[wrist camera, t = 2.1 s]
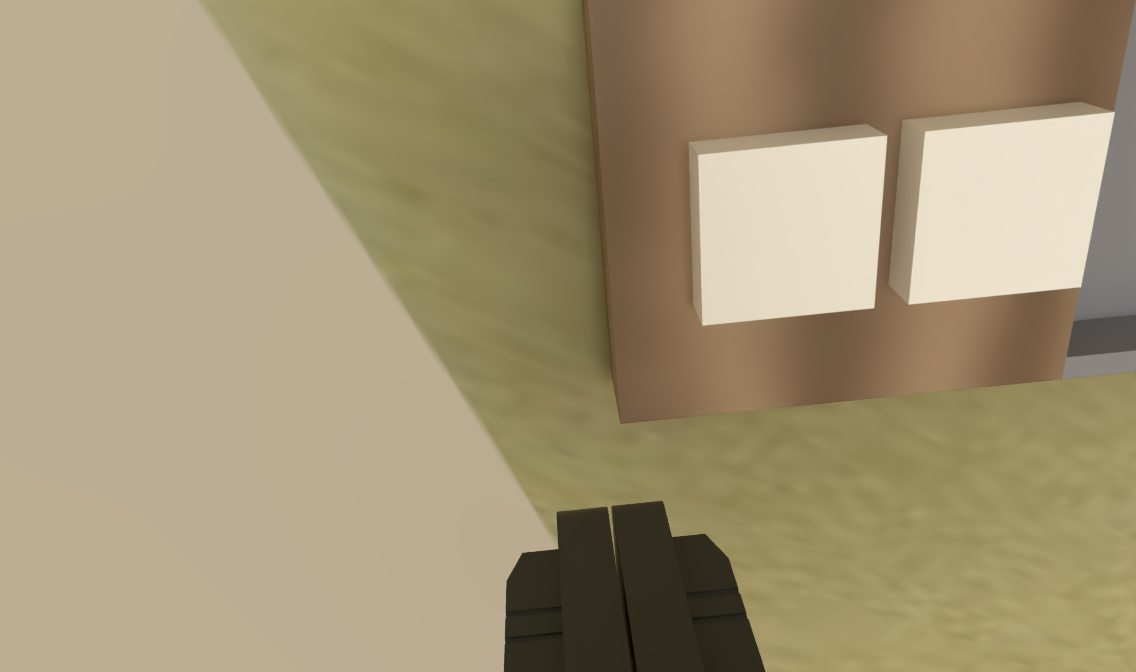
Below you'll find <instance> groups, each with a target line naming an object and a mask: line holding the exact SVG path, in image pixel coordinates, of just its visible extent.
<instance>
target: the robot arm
mask: <svg viewBox="0 0 1136 672" xmlns="http://www.w3.org/2000/svg"><path fill="white" fill-rule="evenodd" d="M612 522H613V534H614V545H615V556H614V549H613V542H612V535H611V528H610V521H609V514H608V508H607V507H599V508H590V509H580V510H570V511H560V512H557V530H558V548H559V549H556V550H547V551H537V552H527V553H522V555H521V556H520V558H519V560H518V562H517V564H516V565H515V567H514V569H513V571H512V572H511V574H510V576H509V578H508V580H507V586H506V587H507V588H506V620H505V655H504V672H765V669H764V666H763V663H762V659H761V656H760V653H759V650H758V647H757V644H756V641H755V638H754V635H753V632H752V629H751V626H750V623H749V620H748V619H747V616H746V610H745V607H744V604H743V601H742V598H741V595H740V594H739V591H738V586H737V583H736V580H735V577H734V574H733V571H732V567H731V564H730V561H729V558H728V557H727V556H726V555H725V554H724V553H723V552H722V551H721V550H720V549H719V548H718V547H717V546H716V545H715V544H714V543H713V542H712V541H711V540H710V539H709V537H708V536H707V535H706V534H699V535H689V536H680V537H672V535H671V531H670V527H669V523H668V519H667V515H666V511H665V507H664V504H663V501H655V502H646V503H636V504H626V505H617V506H612ZM615 557H616V563H615ZM616 569H617V570H616Z"/></svg>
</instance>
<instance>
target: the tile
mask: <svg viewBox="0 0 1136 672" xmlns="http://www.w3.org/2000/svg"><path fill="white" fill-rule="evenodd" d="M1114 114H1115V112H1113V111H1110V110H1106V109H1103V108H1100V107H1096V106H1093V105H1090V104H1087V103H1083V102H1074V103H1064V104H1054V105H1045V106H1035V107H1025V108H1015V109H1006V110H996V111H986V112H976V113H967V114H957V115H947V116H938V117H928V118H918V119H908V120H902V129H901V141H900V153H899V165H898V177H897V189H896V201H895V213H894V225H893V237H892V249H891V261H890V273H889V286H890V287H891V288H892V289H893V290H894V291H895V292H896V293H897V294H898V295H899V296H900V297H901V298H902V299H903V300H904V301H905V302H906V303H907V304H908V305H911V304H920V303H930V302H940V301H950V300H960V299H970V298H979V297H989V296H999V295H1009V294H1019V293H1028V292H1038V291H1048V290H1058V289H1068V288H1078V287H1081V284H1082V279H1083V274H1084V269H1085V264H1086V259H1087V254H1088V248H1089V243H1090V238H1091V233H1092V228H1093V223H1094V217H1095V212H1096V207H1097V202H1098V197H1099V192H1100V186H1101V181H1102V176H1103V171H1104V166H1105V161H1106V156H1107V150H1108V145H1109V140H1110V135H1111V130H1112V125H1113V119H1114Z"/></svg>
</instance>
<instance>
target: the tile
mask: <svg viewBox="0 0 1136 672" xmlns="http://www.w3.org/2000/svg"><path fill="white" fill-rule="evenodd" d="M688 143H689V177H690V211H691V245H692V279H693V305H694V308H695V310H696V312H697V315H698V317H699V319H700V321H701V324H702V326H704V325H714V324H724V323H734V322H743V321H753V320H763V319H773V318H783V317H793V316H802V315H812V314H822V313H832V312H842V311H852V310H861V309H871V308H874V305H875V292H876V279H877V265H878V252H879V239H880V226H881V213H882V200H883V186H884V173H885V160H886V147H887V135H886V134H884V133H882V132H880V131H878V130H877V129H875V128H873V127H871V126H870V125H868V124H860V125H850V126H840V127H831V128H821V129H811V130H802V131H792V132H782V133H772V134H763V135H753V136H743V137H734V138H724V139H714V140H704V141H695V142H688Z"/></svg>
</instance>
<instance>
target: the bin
mask: <svg viewBox="0 0 1136 672" xmlns="http://www.w3.org/2000/svg"><path fill="white" fill-rule="evenodd" d="M1114 112H1115V114H1114V119H1113V125H1112V130H1111V135H1110V140H1109V145H1108V150H1107V156H1106V161H1105V166H1104V171H1103V176H1102V181H1101V186H1100V192H1099V197H1098V202H1097V207H1096V212H1095V217H1094V223H1093V228H1092V233H1091V238H1090V243H1089V248H1088V254H1087V259H1086V264H1085V269H1084V274H1083V279H1082V284H1081V287H1080V290H1079V295H1078V300H1077V305H1076V310H1075V316H1074V321H1073V326H1072V331H1071V336H1070V341H1069V347H1068V352H1067V357H1066V362H1065V367H1064V372H1063V378H1062V379H1069V378H1078V377H1088V376H1098V375H1108V374H1118V373H1128V372H1136V0H1135V5H1134V11H1133V16H1132V21H1131V26H1130V31H1129V36H1128V42H1127V47H1126V52H1125V57H1124V62H1123V67H1122V73H1121V78H1120V83H1119V88H1118V93H1117V98H1116V104H1115V109H1114Z"/></svg>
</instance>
